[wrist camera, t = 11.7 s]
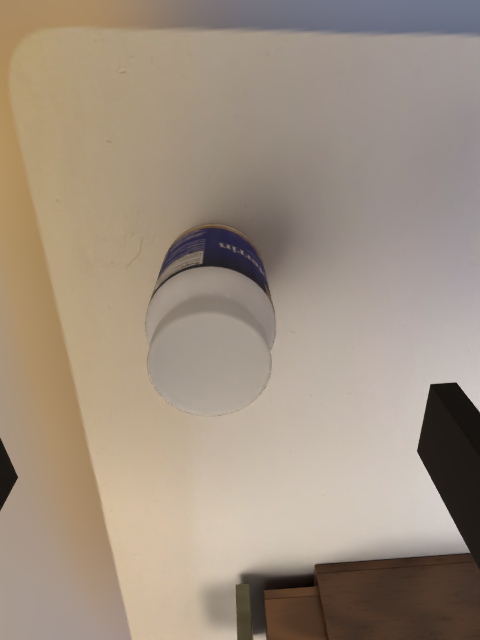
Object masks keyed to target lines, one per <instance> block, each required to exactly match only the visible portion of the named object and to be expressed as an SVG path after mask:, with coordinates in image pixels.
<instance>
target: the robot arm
mask: <svg viewBox="0 0 480 640" xmlns="http://www.w3.org/2000/svg"><path fill="white" fill-rule="evenodd" d="M417 452H418V454H419V456H420V458H421V460H422V462H423V464H424V466H425V467H426V469H427V471H428V473H429V475H430V477H431V479H432V481H433V483H434V485H435V486H436V488H437V490H438V492H439V494H440V496H441V498H442V500H443V502H444V503H445V505H446V507H447V509H448V511H449V513H450V515H451V517H452V519H453V520H454V522H455V524H456V526H457V528H458V530H459V532H460V534H461V536H462V538H463V539H464V541H465V543H466V545H467V547H468V549H469V551H470V553H471V555H472V556H473V558H474V560H475V562H476V564H477V566H478V568H479V570H480V412H479V411H478V409H477V408H476V407H475V406H474V404H473V403H472V402H471V401H470V399H469V398H468V397H467V395H466V394H465V393H464V392H463V390H462V389H461V388H460V387H459V385H458V384H457V383H442V384H431V385H430V390H429V395H428V399H427V404H426V409H425V414H424V419H423V424H422V429H421V434H420V439H419V444H418V449H417ZM17 478H18V476H17V474H16V472H15V470H14V467H13V465H12V463H11V461H10V458H9V456H8V454H7V452H6V450H5V447H4V445H3V443H2V441H1V439H0V510H1V508H2V507H3V505H4V503H5V501H6V499H7V497H8V495H9V493H10V491H11V490H12V488H13V486H14V484H15V482H16V480H17Z"/></svg>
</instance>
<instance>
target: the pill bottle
mask: <svg viewBox="0 0 480 640" xmlns="http://www.w3.org/2000/svg"><path fill="white" fill-rule="evenodd" d="M145 329H146V336H147V340H148V343H149V346H150V348H149V352H148V358H147V367H148V374H149V377H150V380H151V382H152V385H153V386H154V388H155V390H156V391H157V392H158V394H159V395H160V396H161V397H162V398H163V399H164V400H165V401H167V402H168V403H169V404H171V405H172V406H174V407H176V408H178V409H179V410H181V411H184V412H187V413H190V414H194V415H199V416H220V415H225V414H229V413H233V412H235V411H238V410H240V409H242V408H244V407H246V406H247V405H249V404H250V403H252V402H253V401H254V400H255V399H256V398H257V397H258V396H259V395H260V394H261V393H262V391H263V390H264V389H265V387H266V385H267V383H268V380H269V378H270V374H271V366H272V359H271V351H270V350H271V348H272V346H273V343H274V339H275V334H276V318H275V311H274V307H273V303H272V299H271V295H270V291H269V286H268V282H267V278H266V274H265V270H264V266H263V262H262V259H261V256H260V253H259V251H258V250H257V248H256V246H255V245H254V244H253V242H252V241H251V240H250V239H249V238H248V237H247V236H245V235H244V234H243V233H241V232H240V231H238V230H236V229H234V228H231V227H229V226H225V225H219V224H207V225H202V226H198V227H195V228H192V229H190V230H188V231H186V232H185V233H183V234H182V235H180V236H179V237H178V238H177V239H176V240H175V241H174V243H173V244H172V245H171V247H170V248H169V250H168V252H167V254H166V256H165V259H164V261H163V264H162V267H161V270H160V273H159V276H158V279H157V282H156V285H155V288H154V291H153V294H152V296H151V299H150V302H149V305H148V309H147V314H146V321H145Z"/></svg>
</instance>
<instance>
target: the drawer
mask: <svg viewBox="0 0 480 640" xmlns="http://www.w3.org/2000/svg"><path fill="white" fill-rule="evenodd" d="M264 605H265V623H266V640H328V638H327V632H326V627H325V622H324V617H323V612H322V607H321V601H320V596H319V591H318V586H316V587H303V588H289V589H276V590H264ZM236 609H237V640H254V639H253V627H252V615H251V603H250V591H249V584H238V585H236Z"/></svg>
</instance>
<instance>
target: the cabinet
mask: <svg viewBox="0 0 480 640" xmlns="http://www.w3.org/2000/svg"><path fill="white" fill-rule="evenodd" d="M316 586H318V591H319V596H320V601H321V607H322V612H323V617H324V622H325V627H326V632H327V638H328V640H480V570H479V568H478V566H477V564H476V562H475V560H474V558H473V556H472V555H471V554H458V555H445V556H431V557H417V558H404V559H390V560H377V561H363V562H350V563H336V564H323V565H315V569H314V587H316Z"/></svg>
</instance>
